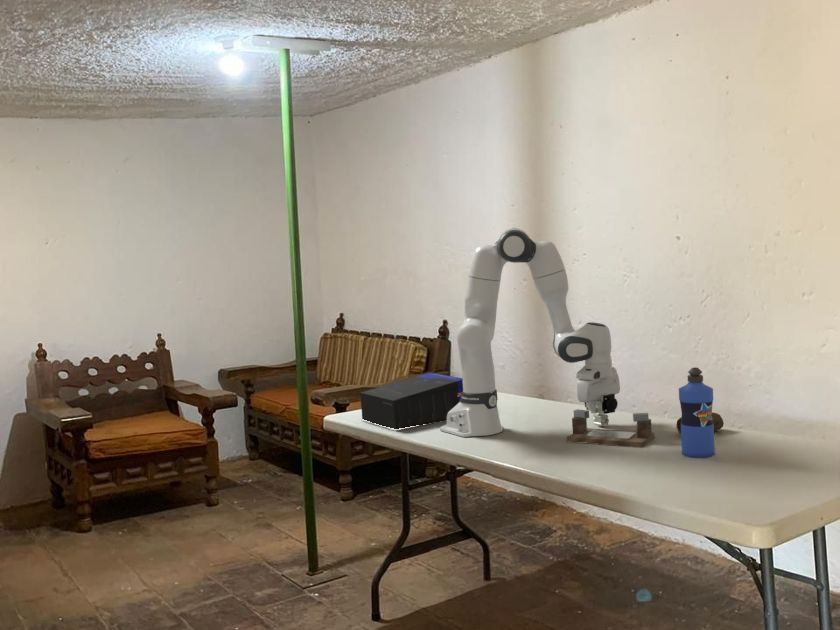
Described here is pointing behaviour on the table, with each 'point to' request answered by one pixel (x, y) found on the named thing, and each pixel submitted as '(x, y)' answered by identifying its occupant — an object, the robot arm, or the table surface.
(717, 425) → the brown wooden cylinder
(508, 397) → the table surface
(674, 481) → the table surface
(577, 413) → the grey long bracket
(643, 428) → the shaft rig base
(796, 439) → the table surface
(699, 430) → the water bottle
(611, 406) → the pneumatic valve
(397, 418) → the headphone box
